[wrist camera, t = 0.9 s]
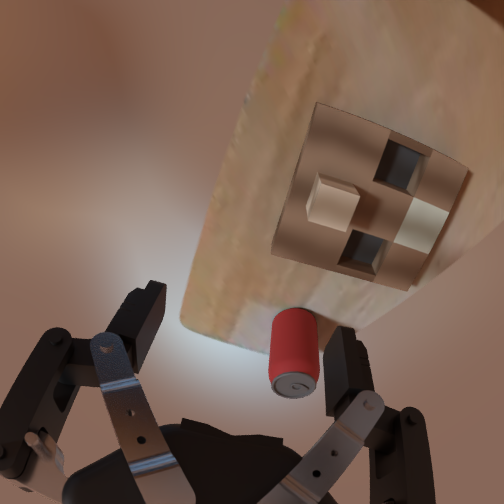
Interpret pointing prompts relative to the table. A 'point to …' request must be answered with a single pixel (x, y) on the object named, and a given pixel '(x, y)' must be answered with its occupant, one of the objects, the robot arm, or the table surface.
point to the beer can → (294, 354)
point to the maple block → (332, 202)
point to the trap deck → (369, 200)
